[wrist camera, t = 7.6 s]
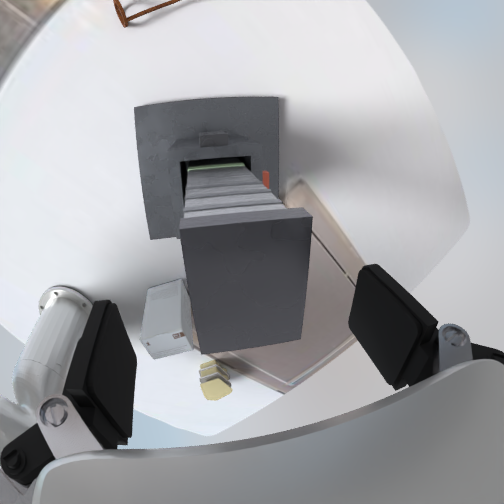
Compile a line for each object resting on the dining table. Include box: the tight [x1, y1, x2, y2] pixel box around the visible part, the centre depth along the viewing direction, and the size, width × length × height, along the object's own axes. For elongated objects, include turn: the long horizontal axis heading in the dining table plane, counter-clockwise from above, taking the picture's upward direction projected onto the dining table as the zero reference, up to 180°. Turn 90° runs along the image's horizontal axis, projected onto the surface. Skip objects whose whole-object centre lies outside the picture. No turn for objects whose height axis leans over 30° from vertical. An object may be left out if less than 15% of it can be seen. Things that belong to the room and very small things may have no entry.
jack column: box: [179, 157, 313, 355], centre depth 20 cm, size 6×5×21 cm
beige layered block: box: [199, 360, 232, 400], centre depth 52 cm, size 10×9×6 cm
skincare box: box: [140, 279, 194, 359], centre depth 38 cm, size 6×4×12 cm
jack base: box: [134, 97, 279, 240], centre depth 30 cm, size 18×18×14 cm
